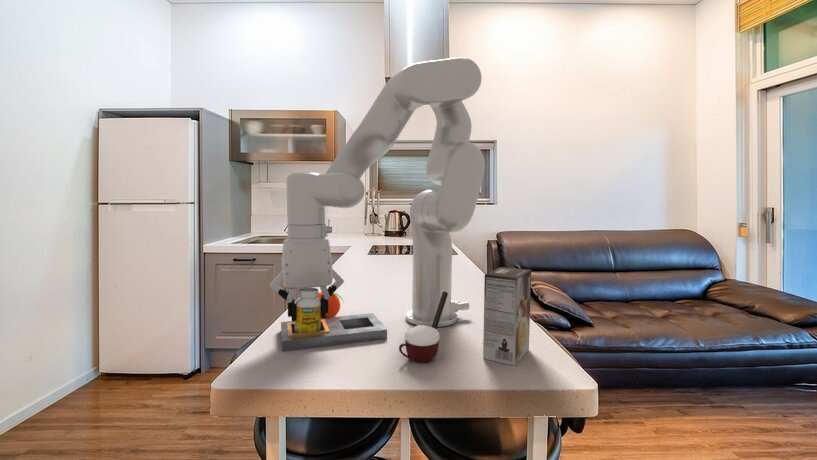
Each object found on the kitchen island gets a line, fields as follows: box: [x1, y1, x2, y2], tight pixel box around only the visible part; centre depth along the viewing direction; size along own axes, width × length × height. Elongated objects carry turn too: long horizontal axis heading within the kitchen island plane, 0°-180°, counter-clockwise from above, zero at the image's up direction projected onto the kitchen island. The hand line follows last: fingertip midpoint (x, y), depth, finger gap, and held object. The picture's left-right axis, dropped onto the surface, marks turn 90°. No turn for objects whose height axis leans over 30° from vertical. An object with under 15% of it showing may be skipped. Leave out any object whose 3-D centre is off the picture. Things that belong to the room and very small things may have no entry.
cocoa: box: [398, 291, 448, 364], centre depth 70 cm, size 10×6×12 cm, turn 91°
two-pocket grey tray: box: [280, 312, 388, 352], centre depth 82 cm, size 21×12×2 cm, turn 110°
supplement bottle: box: [295, 287, 321, 333], centre depth 80 cm, size 5×5×10 cm
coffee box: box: [482, 266, 533, 367], centre depth 72 cm, size 9×6×16 cm
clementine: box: [317, 291, 344, 318], centre depth 93 cm, size 8×7×7 cm
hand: (308, 317), depth 80 cm, fingers closed on supplement bottle, 5 cm apart
